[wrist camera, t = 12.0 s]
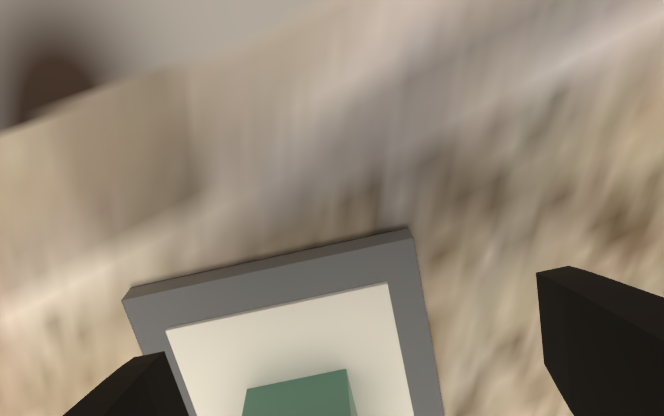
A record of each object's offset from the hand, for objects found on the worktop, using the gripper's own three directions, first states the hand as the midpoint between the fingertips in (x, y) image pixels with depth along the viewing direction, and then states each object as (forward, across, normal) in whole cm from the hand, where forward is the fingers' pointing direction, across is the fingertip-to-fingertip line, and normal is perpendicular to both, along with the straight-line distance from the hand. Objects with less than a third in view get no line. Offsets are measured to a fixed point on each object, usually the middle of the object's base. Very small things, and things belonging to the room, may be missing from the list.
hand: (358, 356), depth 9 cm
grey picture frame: (+9, +3, +8) cm, 13 cm away
